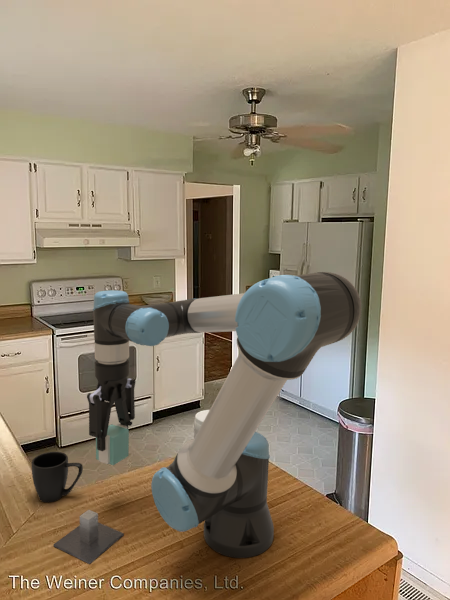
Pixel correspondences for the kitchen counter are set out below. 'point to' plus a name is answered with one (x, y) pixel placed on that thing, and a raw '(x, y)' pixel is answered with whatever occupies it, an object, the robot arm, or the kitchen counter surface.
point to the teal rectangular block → (117, 444)
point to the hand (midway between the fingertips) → (113, 456)
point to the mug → (52, 475)
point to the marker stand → (88, 538)
